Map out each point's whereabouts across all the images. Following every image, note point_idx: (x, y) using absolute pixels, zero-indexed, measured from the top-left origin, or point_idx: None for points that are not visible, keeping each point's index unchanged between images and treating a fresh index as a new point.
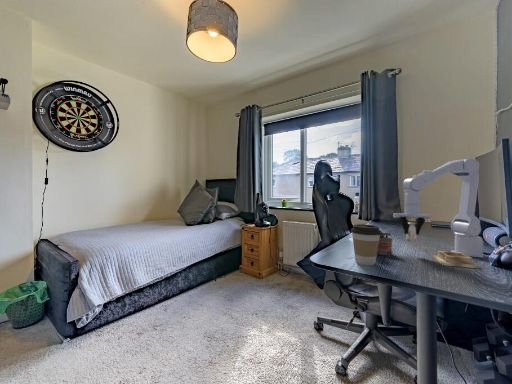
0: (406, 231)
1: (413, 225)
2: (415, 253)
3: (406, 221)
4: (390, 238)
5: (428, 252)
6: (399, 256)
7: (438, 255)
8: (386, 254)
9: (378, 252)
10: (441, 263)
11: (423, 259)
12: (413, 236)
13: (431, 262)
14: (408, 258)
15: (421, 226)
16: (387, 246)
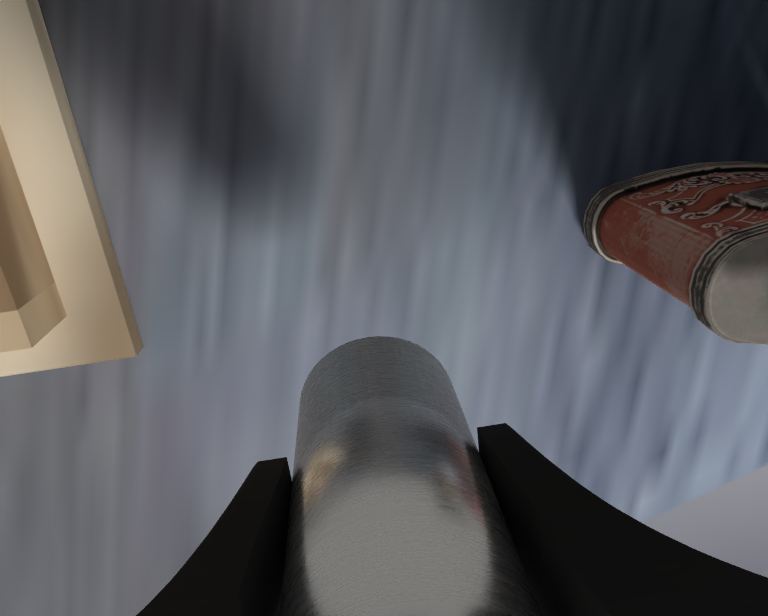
0: (506, 447)
1: (378, 564)
2: None
3: (651, 612)
4: (747, 257)
5: (166, 526)
6: (510, 160)
7: (54, 307)
8: (656, 172)
9: (760, 165)
10: (35, 6)
11: (241, 155)
12: (357, 388)
13: (156, 38)
14: (415, 109)
15: (155, 598)
16: (707, 201)
